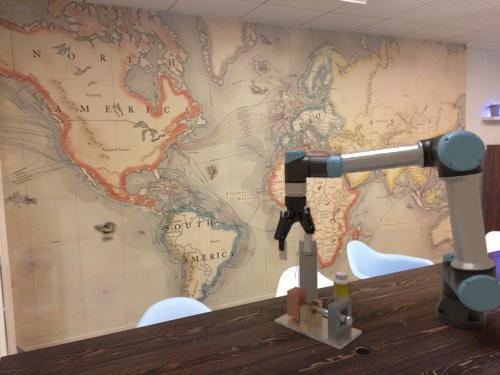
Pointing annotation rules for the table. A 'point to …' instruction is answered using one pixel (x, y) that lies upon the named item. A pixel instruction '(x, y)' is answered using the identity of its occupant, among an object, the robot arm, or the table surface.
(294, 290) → the mallet
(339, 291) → the pill bottle
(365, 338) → the table surface
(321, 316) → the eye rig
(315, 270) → the water bottle
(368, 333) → the table surface
